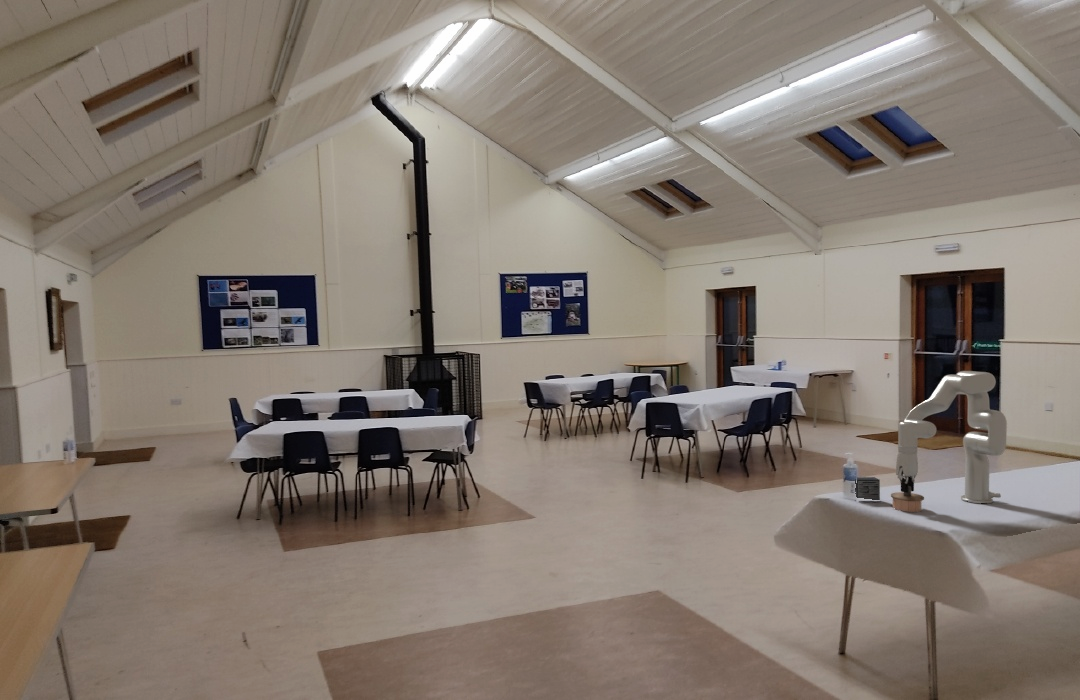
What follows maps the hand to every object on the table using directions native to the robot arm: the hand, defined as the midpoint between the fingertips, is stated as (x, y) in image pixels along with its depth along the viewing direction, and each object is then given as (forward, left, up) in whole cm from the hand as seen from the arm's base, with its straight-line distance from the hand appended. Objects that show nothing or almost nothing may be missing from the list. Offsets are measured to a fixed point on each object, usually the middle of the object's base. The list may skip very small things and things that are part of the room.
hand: (907, 490), depth 323 cm
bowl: (0, 0, -8) cm, 8 cm away
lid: (0, 0, -3) cm, 3 cm away
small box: (+13, -14, -8) cm, 21 cm away
